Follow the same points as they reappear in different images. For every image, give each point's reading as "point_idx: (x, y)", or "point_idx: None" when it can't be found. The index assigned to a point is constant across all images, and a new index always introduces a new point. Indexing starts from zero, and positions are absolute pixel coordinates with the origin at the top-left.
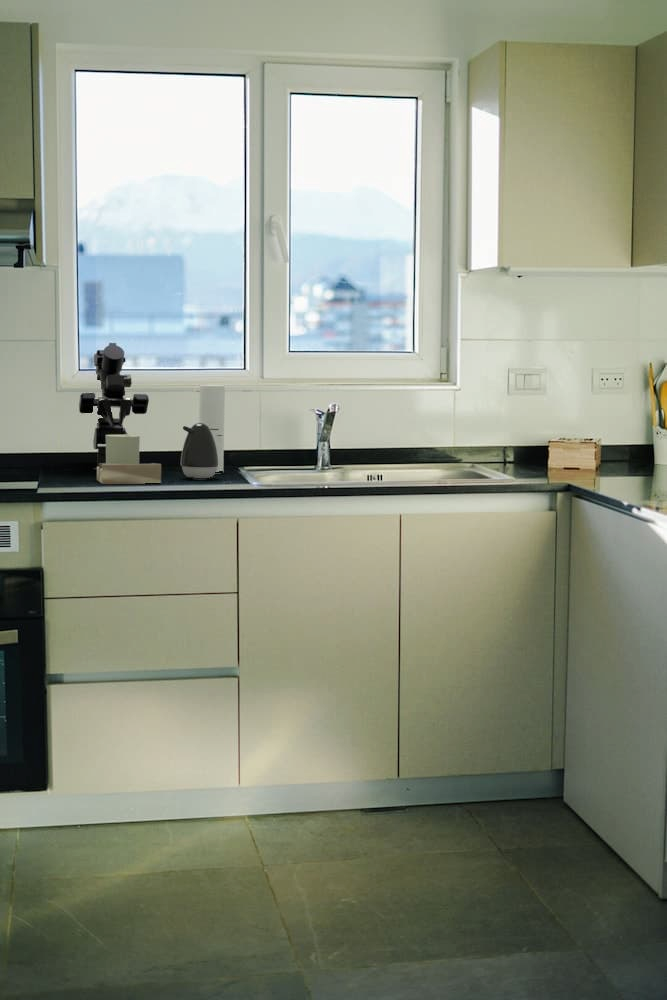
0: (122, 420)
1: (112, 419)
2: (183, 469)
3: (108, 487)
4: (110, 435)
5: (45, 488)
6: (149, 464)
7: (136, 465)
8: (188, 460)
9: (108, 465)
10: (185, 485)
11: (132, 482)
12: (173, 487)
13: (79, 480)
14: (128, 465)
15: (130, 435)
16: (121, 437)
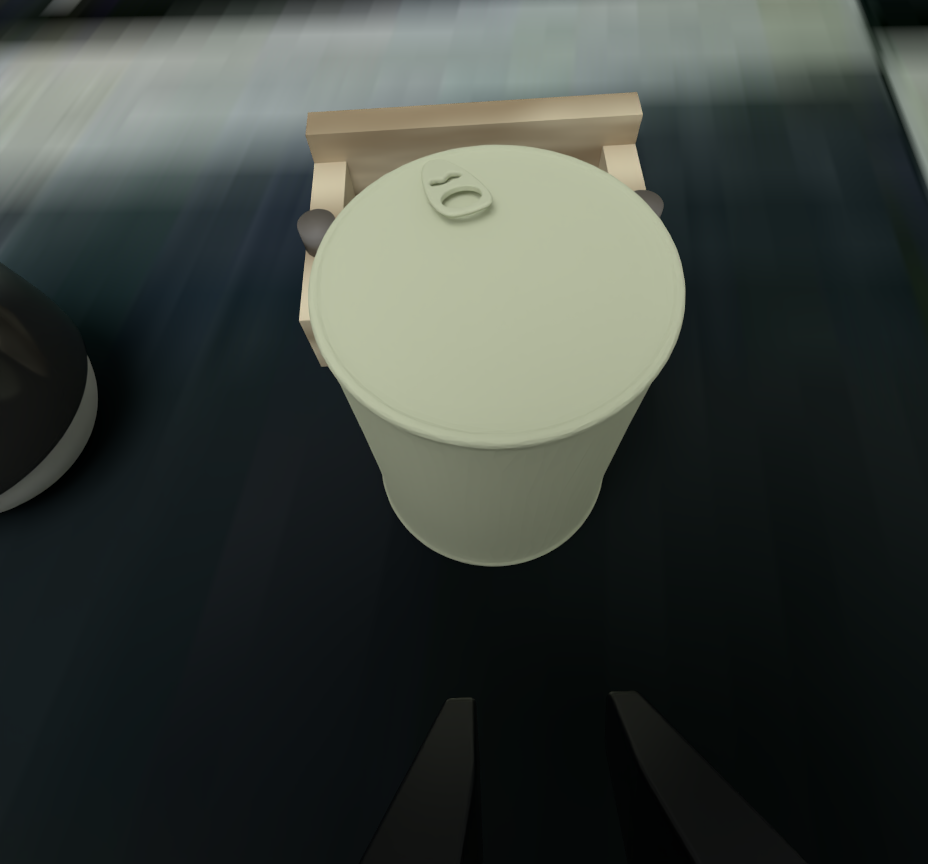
0: (417, 767)
1: (668, 770)
2: (91, 390)
3: (589, 80)
4: (629, 323)
5: (845, 50)
6: (374, 109)
7: (447, 108)
8: (45, 297)
9: (603, 99)
10: (244, 144)
11: None
12: (320, 84)
13: (749, 338)
14: (492, 107)
15: (392, 357)
16: (521, 152)
